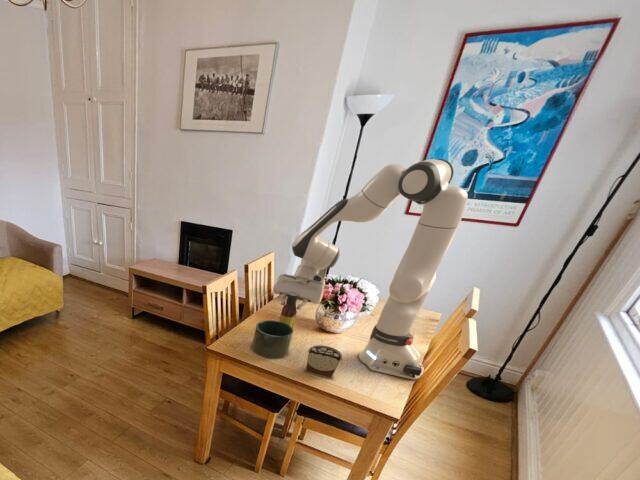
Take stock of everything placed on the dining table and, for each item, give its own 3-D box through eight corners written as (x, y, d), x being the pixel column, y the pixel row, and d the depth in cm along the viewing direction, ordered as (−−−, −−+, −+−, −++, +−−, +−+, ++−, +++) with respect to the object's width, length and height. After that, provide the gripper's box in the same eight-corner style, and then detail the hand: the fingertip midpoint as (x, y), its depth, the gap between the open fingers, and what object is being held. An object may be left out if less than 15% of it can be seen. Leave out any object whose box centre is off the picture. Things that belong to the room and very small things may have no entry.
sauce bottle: (292, 339, 173) (303, 297, 162) (278, 339, 174) (288, 297, 162) (287, 332, 179) (298, 291, 167) (274, 332, 179) (283, 291, 167)
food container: (337, 372, 152) (345, 349, 147) (335, 379, 148) (343, 357, 142) (304, 363, 158) (310, 341, 152) (301, 370, 153) (307, 348, 147)
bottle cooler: (292, 348, 168) (298, 327, 162) (279, 362, 158) (285, 340, 153) (260, 337, 175) (264, 317, 169) (245, 350, 166) (250, 329, 160)
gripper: (279, 269, 171) (265, 297, 170) (328, 280, 160) (313, 310, 160) (281, 276, 176) (268, 303, 176) (328, 287, 165) (314, 316, 165)
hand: (290, 306), depth 167 cm, fingers open, 6 cm apart
